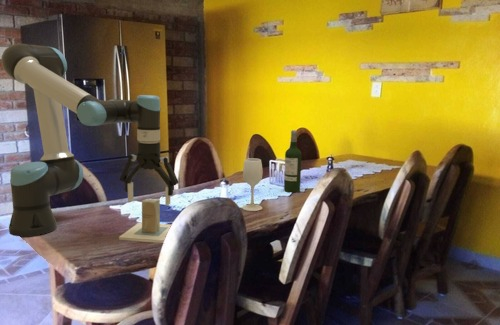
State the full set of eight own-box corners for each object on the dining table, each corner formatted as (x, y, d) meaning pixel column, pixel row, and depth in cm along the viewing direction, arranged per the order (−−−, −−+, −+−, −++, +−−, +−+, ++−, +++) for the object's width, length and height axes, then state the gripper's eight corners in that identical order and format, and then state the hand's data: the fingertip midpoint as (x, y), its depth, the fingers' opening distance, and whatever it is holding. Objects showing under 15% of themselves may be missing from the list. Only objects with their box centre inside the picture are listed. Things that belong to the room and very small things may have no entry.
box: (141, 232, 151) (140, 201, 149) (146, 228, 155) (145, 198, 153) (156, 233, 150) (155, 202, 148) (160, 229, 154) (160, 198, 152)
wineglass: (257, 204, 191) (258, 157, 188) (265, 210, 183) (266, 160, 180) (239, 206, 188) (239, 158, 184) (246, 212, 180) (247, 161, 176)
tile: (119, 239, 146) (119, 236, 146) (139, 224, 162) (139, 222, 162) (164, 243, 144) (164, 240, 143) (180, 227, 159) (180, 225, 159)
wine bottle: (282, 191, 215) (284, 130, 209) (286, 188, 222) (287, 129, 217) (298, 193, 212) (300, 131, 207) (301, 189, 220) (303, 130, 214)
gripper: (108, 140, 145) (110, 202, 149) (180, 145, 141) (180, 208, 145) (119, 138, 153) (120, 197, 157) (187, 142, 149) (187, 202, 153)
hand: (149, 202), depth 151 cm, fingers open, 13 cm apart
